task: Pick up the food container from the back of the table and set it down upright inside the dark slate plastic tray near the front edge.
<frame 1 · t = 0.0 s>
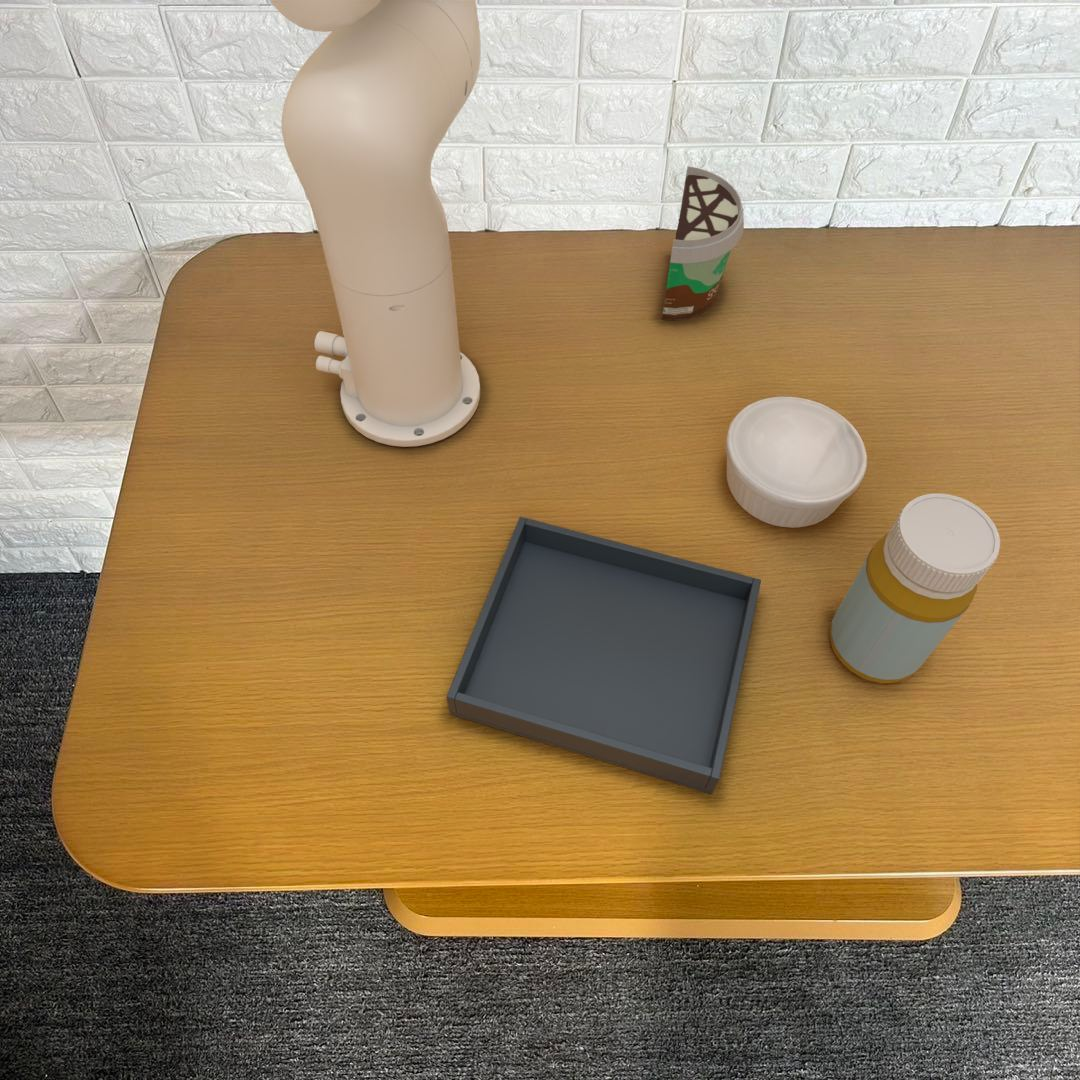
ramekin: (781, 487, 77), on the table
bottle: (872, 646, 68), on the table
food container: (697, 293, 91), on the table
tray: (607, 655, 67), on the table
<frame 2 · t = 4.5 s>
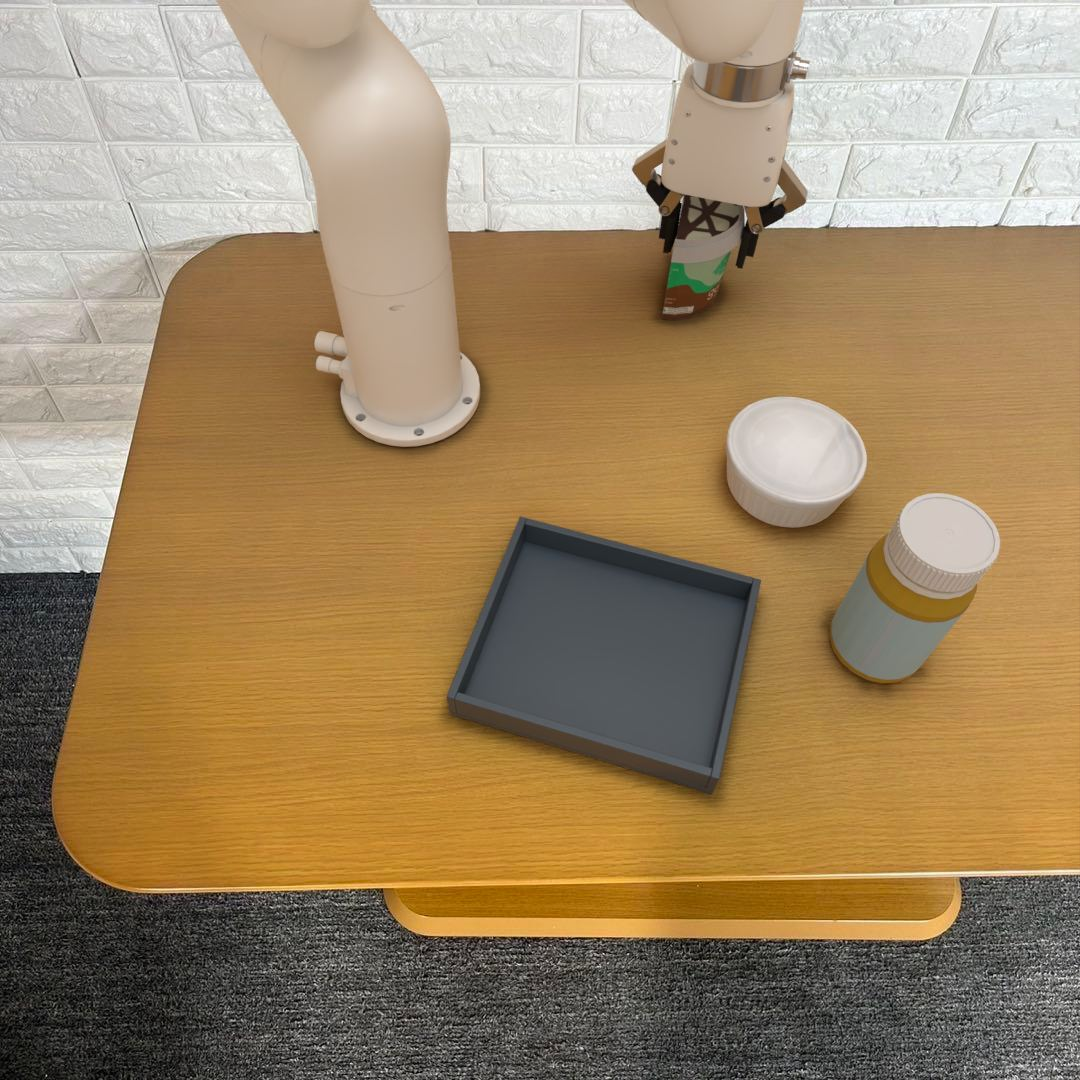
hand: (705, 250, 86), 5 cm above the table, tool pointing down, fingers closed on food container, 6 cm apart
food container: (697, 293, 91), on the table, touching gripper
everything else where it was.
when the fingers open (6 cm above the table, at t = 13.4 s): food container stays where it is, resting on tray.
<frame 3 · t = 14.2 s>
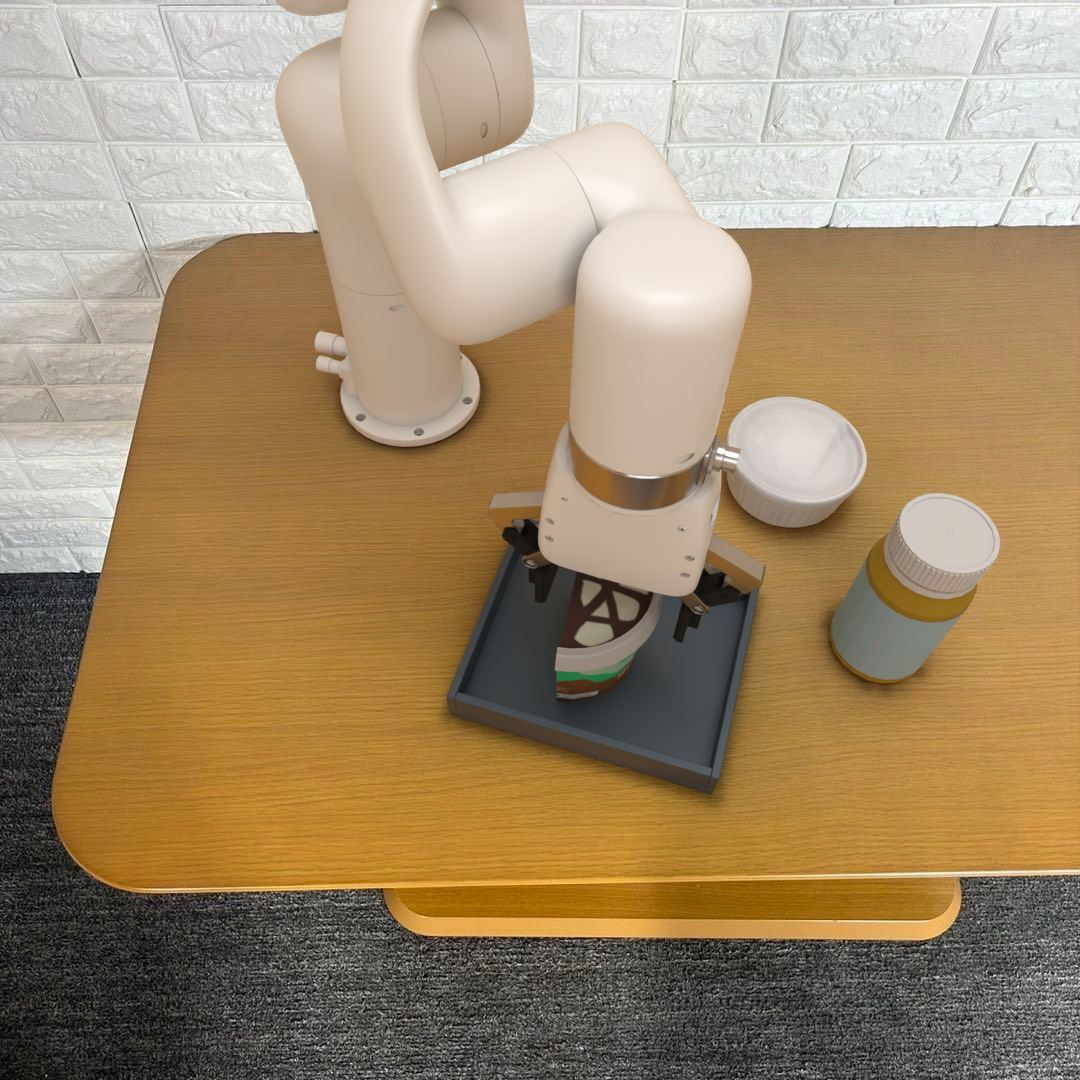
hand: (613, 604, 62), 7 cm above the table, tool pointing down, fingers open, 9 cm apart
food container: (608, 652, 67), resting on tray
everything else where it was.
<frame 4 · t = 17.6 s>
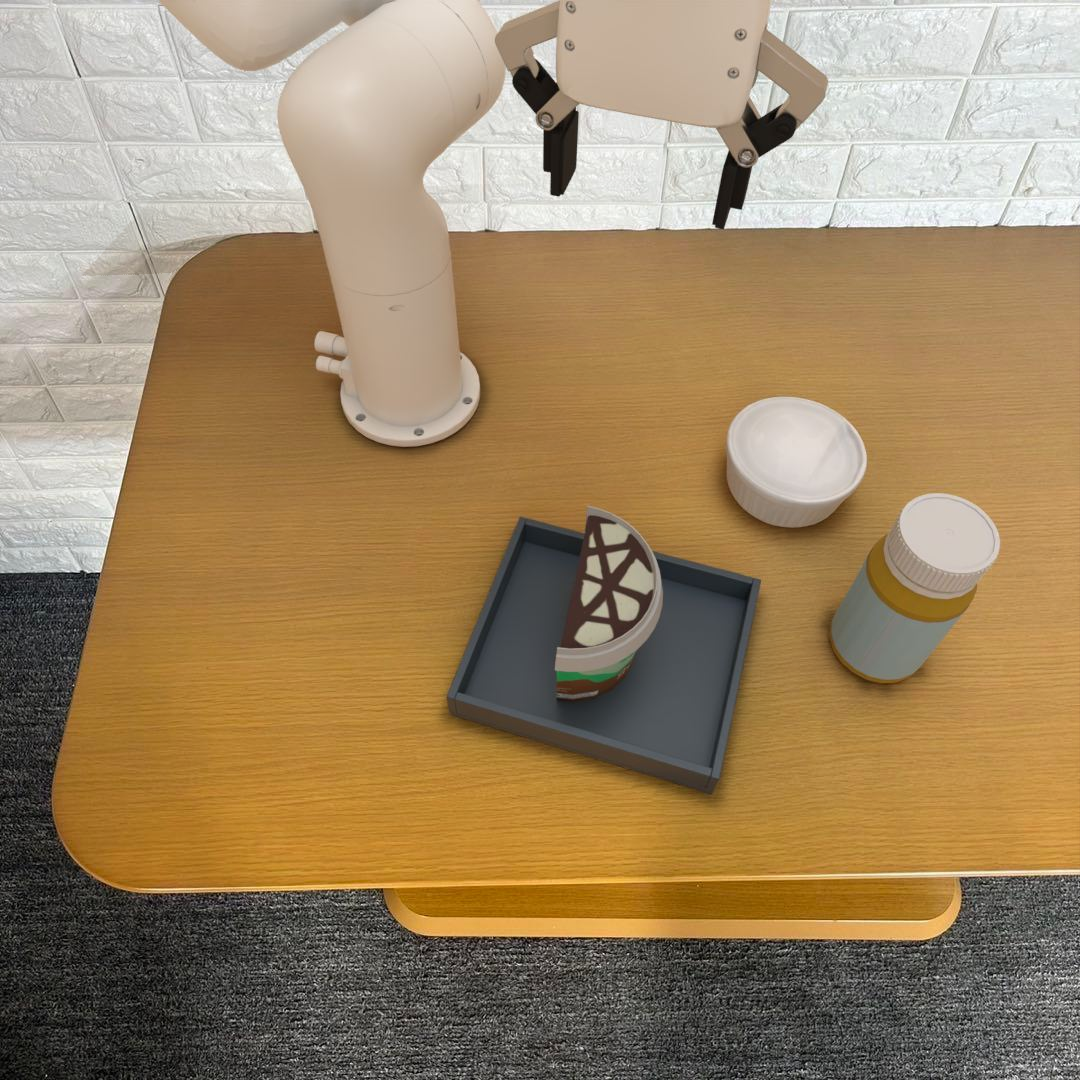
hand: (641, 198, 53), 28 cm above the table, tool pointing down, fingers open, 9 cm apart
nothing on the table moved.
at the end: food container inside the target area in the tray (0.0 cm from its centre), point 0.4 cm above the tray's base; food container tilted 0°; the gripper is holding nothing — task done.
